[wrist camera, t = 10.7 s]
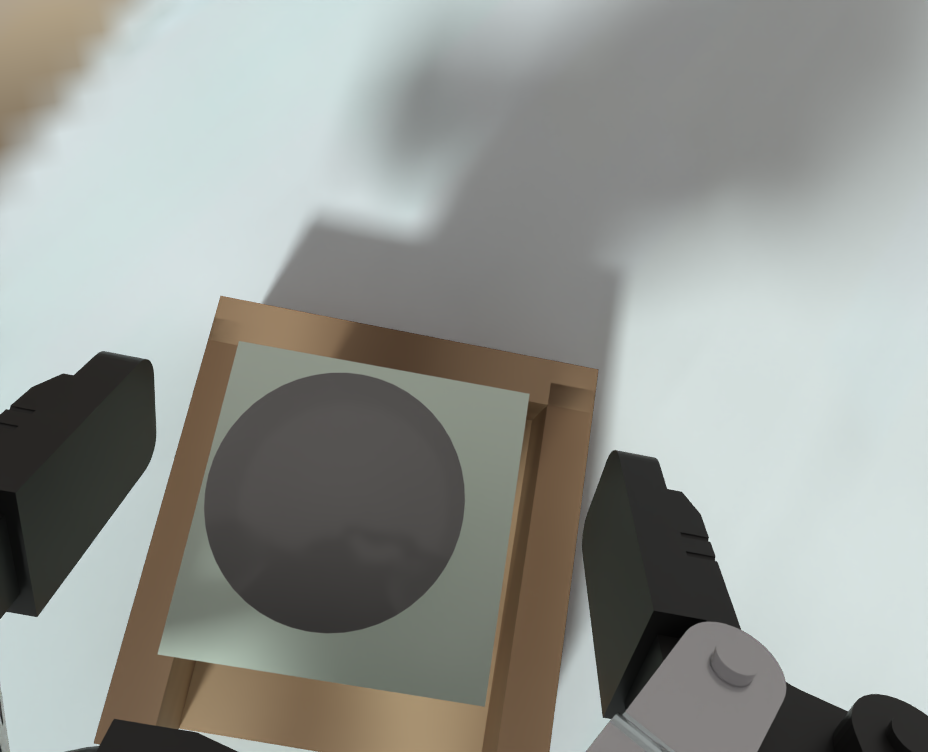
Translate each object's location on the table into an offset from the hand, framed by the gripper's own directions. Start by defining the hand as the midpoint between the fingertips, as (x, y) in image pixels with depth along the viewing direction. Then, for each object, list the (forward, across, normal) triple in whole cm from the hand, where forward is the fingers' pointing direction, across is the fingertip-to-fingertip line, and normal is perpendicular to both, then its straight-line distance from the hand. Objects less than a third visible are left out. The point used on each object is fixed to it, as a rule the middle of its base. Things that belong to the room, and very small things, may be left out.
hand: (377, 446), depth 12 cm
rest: (+5, 0, +7) cm, 8 cm away
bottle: (+4, 0, +6) cm, 7 cm away
